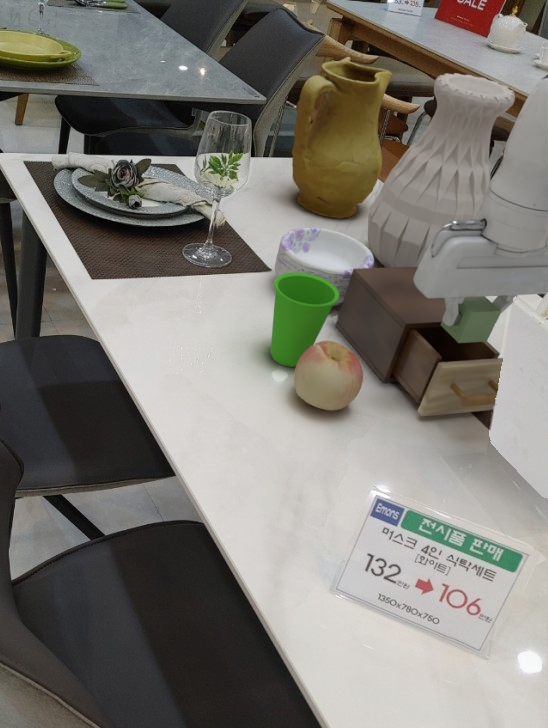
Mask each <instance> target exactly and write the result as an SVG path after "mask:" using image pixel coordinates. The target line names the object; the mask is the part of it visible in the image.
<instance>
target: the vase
mask: <svg viewBox="0 0 548 728" xmlns="http://www.w3.org/2000/svg"><path fill="white" fill-rule="evenodd" d="M433 94H434V97H435V100H436V105H437V106H436V109H435V112H434V115H433V116H432V118H431V120H430V121H429V123H428V125H427V126H426V128H425V129H424V130H423V132H422V133H421V134H420V136H419V137H418V138H417V139H416V141H415V142H414V143H413V144H412V145H410V146H409V148H408V149H406V151H405V152H404V153H403V154H402V156H401V157H400V159H399V160H398V162H397V163H396V164H395V165H394V167H393V168H392V169H391V170H390V172H389V174H388V175H387V177H386V178H385V180H384V181H383V185H382V186H381V188H380V190H379V193H378V194H377V196H376V197H375V199H374V200H373V202H372V203H371V205H370V207H369V208H368V212H367V213H368V214H367V215H368V217H367V218H368V219H367V240H368V241H367V242H368V245H369V250H370V251H371V253H372V255H373V257H374V258H376V259H377V261H379V262H380V264H381V265H382V266H383V268H393V267H418V266H419V264H420V262H421V260H422V258H423V256H424V254H425V252H426V250H427V249H428V247H429V245H430V243H431V242H432V240H433V238H434V236H435V233H436V232H437V230H438V229H440V228H442V227H443V226H444V225H446V224H449V222H450V221H452V220H472V219H475V217H476V215H477V212H478V210H479V208H480V205H481V203H482V200H483V198H484V195H485V193H486V191H487V188H488V186H489V183H490V181H491V179H492V175H491V166H490V146H491V145H490V144H491V138H492V137H491V135H492V130H493V127H494V124H495V122H496V120H497V118H499V117H500V116H501V115H502V114H504V113H505V112H507V111H508V110H510V108H512V106H513V105H514V103H515V100H516V96H515V91H514V90H512V89H509V86H506V85H504V84H501V83H499V82H498V81H495V80H491V79H490V80H489V79H487V78H486V77H482V76H481V77H479V76H474V75H472V74H468V73H467V74H461V73H456V72H454V73H443V75H442V74H440V75H438V76H437V77H436V78H435V80H434V85H433ZM448 228H449V227H448Z"/></svg>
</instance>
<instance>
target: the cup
mask: <svg viewBox="0 0 548 728" xmlns="http://www.w3.org/2000/svg"><path fill="white" fill-rule="evenodd" d="M273 288H274V290H275V291H274V304H273V317H272V329H271V343H270V354H271V355H270V356H271V359H272V360H273V361H274V362H276V363H277V364H279V365H281V366H283V367H290V368H296V365H297V363H298V361H299V359H300V357H301V356H302V354H303V353H304V352H305V351H306V350H307V349H308V348H309V347H310V346H312V345H314V344H315V342H316V340H317V338H318V336H319V334H320V332H321V330H322V328H323V326H324V325H325V322H326V320H327V318H328V316H329V314H330V312H331V310H332V308H333V307H334V306H333V304H334V303H336V302H337V301H338V299H339V292H338V290H337V288H336V287H335V286H334V285H333V284H331V283H330V282H328V281H327V280H325V279H323V278H321V277H318V276H315V275H311V274H306V273H286V274H283V275H280V276H277V277H276V278H275V279H274V281H273Z"/></svg>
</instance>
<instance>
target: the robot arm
mask: <svg viewBox="0 0 548 728" xmlns="http://www.w3.org/2000/svg"><path fill="white" fill-rule="evenodd" d="M448 227H449V228H448ZM413 280H414V284H415V286H416V288H417V289H418V290H419V291H420V292H421V293H422V294H423V295H424V296H425V297H427V298H444V299H445V305H446V311H445V314H444V316H443V322H444V323H445V324H446V325H447V326H458V325H459V323H460V320H461V319H462V316H463V314H462V313H461V312H459V310H458V303H459V304H461V303H462V302H463V300H464V298H465V297H479V296H485V297H496V298H494V300H493V301H491V302H492V303H493V304H494V305H495V306H496V307H497V308H498V309H500V310H501V313H500V315H499V317H498V319H497V321H496V323H497V322H498V320H499V318H500V316H501V314H502V313H503V312H504V311H506V310H507V309H508V308H509V307H510V306H511V305H513V304H514V302H513V298H514V297H515V296H516V298H517V297H518V296H525V295H526V296H529V295H547V294H546V293H547V291H548V74H546V75H545V76H543V77H542V78H540V79H539V80H538V81H537V82H536V83H535V85H534V87H533V88H532V89H531V91H530V93H529V94H528V96H527V98H526V100H525V102H524V103H523V105H522V108H521V109H520V111H519V114H518V116H517V118H516V120H515V122H514V124H513V126H512V129H511V131H510V134H509V135H508V138H507V140H506V142H505V145H504V151H503V157H502V160H501V164H500V166H499V167H498V170H497V171H496V173H495V174H494V175H493V176H492V177H491V179H490V183H489V186H488V188H487V191H486V193H485V195H484V198H483V200H482V203H481V205H480V208H479V210H478V212H477V215H476V217H475V219H472V220H452V221H450V222H449V224H446V225H444V226H443V227H442V228H440V229H438V230H437V232H436V233H435V236H434V238H433V240H432V242H431V243H430V245H429V247H428V249H427V250H426V252H425V254H424V256H423V258H422V260H421V262H420V264H419V266H418V268H417V270H416V273H415V275H414V279H413Z"/></svg>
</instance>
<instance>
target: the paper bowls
mask: <svg viewBox="0 0 548 728" xmlns="http://www.w3.org/2000/svg"><path fill="white" fill-rule="evenodd" d="M374 264H375V256H374V254H373V253H372V251H371V250H370V248H369V247H367V246H366V245H365V244H364V243H363V242H362V241H360V240H358V239H356V238H354V237H352V236H350V235H348V234H345V233H343V232H339V231H336V230H333V229H329V228H321V227H312V226H311V227H309V226H307V227H298V228H294V229H291V230H289V231H287V232H286V233H285V234H284V235H282V237H281V239H280V241H279V245H278V250H277V254H276V259H275V264H274V271H275V275H277V277H279V276H280V275H283V274H286V273H306V274H311V275H315V276H318V277H321V278H323V279H325V280H327V281H328V282H330V283H331V284H333V285H334V286H335V287H336V288H337V290H338V292H339V299H338V301H337V302H336V303H334V304H333V306H332V307H334V306H337V305H338V306H339V305H340V304H342V303H343V300H344V297H345V294H346V291H347V288H348V284H349V281H350V278H351V275H352V272H353V269H357V268H374Z"/></svg>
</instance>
